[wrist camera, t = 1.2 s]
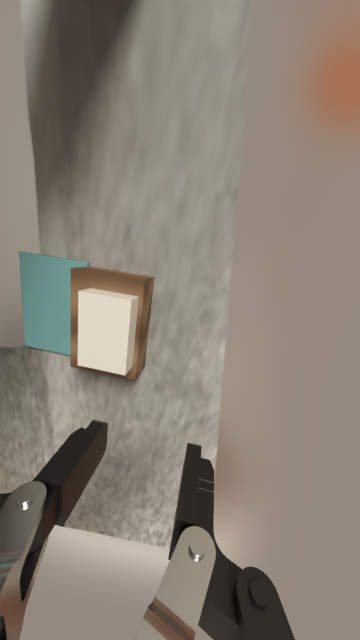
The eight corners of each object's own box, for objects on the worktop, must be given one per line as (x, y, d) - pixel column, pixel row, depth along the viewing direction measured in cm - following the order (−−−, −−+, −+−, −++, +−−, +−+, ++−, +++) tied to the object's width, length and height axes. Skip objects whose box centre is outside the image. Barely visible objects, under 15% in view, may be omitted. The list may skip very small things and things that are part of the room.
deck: (89, 266, 30) (70, 267, 26) (154, 277, 29) (144, 279, 25) (87, 354, 34) (70, 366, 30) (144, 366, 33) (135, 380, 29)
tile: (90, 288, 26) (78, 291, 24) (138, 296, 26) (131, 300, 24) (88, 356, 29) (77, 365, 27) (132, 366, 28) (125, 375, 26)
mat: (21, 251, 31) (19, 251, 31) (89, 262, 30) (87, 262, 29) (27, 344, 35) (25, 345, 35) (86, 357, 34) (85, 358, 33)
